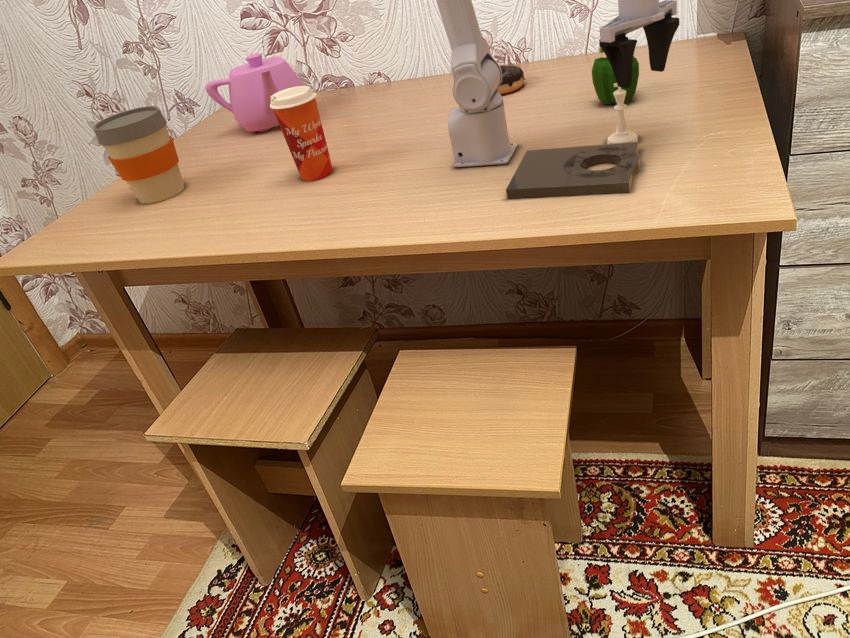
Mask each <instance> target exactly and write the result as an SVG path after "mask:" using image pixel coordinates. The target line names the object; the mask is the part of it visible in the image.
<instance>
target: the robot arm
mask: <svg viewBox="0 0 850 638" xmlns="http://www.w3.org/2000/svg"><path fill="white" fill-rule="evenodd" d="M435 2H436V4H437V9H438V11H439V14H440V18H441V21H442V25H443V27H444V30H445V31H444V32H445V33H446V37H447V40H448V44H449V47H450V50H451V53H450V54H451V56H450V70H451V74H452V77H453V83H452V96H453V99H454V101H455V102H456V104H457V105H458V106H457V107H454V108H453V107H452V108H451V109H450V110H449V112H448V116H447V128H448V135H449V140H450V144H451V150H452V154H453V159H454V164H453V166H454V167H453V168H466V167H481V166H483V167H484V166H494V165H495V166H497V165H506V164H508V163H509V162H510V160H511V158H512V156H513V155H514V153H515V151H516V149H517V148H518V143H516V142H515V143H512V142H511V141H510V135H509V129H508V123H507V117H506V110H505V102H504V97H503V96H502V94H500V93H499V91H498V87H499V86H500V84H501V81H502V70H501V67H500V66H501V65H500V63H499V62H498V61H497V60H496V59H495V58H494V56H493V55H492V52H491V49H490V46H489V44H488V43H487V42H486V40H485V39H484V38H483V36H482V32H481V29H480V25H479V21H478V19H477V14H476V11H475V8H474V4H473V1H472V0H435ZM617 6H618V8H617V9H618V10H617V11H618V15H617V16H616V17H614V18H613V19H611V20H610V21H609V22H608V23H606V24H605V25H602V26H600V27H599V40H598V42H599V48H601V49H602V50H603V53H604V55H605V57H607V58H608V60H609V62H610V64H611V67H612V69H613V72H614V75H615V78H616V82H617V85H618V87H624V88H629V87H631V84H632V63H633V56H635V50H636V46H637V43H638V40H637V39H634V38H633V39H631V38H629V36H627V34H630V33H632V32H635V31H637V30H639V29H641V28H642V29H643V31H644V35H645V38H646V39H645V40H646V43H647V49H648V50H647V51H648V60H649V68H650V71H651V72H660V73H661V72H665V69H666V65H667V60H668V57H669V52H670V48H671V44H672V41H673V39H674V36H675V34H676V33H677V30H678V28H679V26H680V18H679V17H675V15H678V1H677V0H662V1H660V0H617ZM673 16H674V17H673ZM510 142H511V143H510Z"/></svg>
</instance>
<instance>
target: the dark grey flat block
mask: <svg viewBox="0 0 850 638" xmlns="http://www.w3.org/2000/svg"><path fill="white" fill-rule="evenodd" d="M639 144H640V143H639V141H637V142H632V143H631V142H630V143H617V144H607V143H606V144H593V145H579V146H565V147H552V148H543V149H542V148H541V149H527V150H526V151H525V153H524V155H523V157H522V159H521V160H520V162H519V164H518V166H517V168H516V170H515V172H514V174H513V176H512V178H511V180H510V181H509V184H508V185H507V187H506V189H505V192H506V197H507V200H510V199H512V200H513V199H529V198H545V197H547V198H549V197H566V196H569V197H570V196H584V195H585V196H586V195H603V194H604V195H605V194H623V193H630V192H631V189H632V183H633V179H634V177H635V176H636V175H637V174H639V172H640V168H641V156H640V155H639V151H640V149H639V148H640V147H639V146H640V145H639ZM600 164H614V165H615V166H612V167H609V168H605V169H599V170H592V169H586V168H589V167H591V166H596V165H600Z"/></svg>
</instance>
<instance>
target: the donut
mask: <svg viewBox="0 0 850 638" xmlns="http://www.w3.org/2000/svg"><path fill="white" fill-rule="evenodd" d="M500 67H501V70H502V81H501V84H500V86H499V87H498V91H499V93H500V95H504V94H505V95H506V94H508V93H513V92H515V91H517V90H519V89H520V88H521V87H522V86H524V83H525V80H526V79H525V73H524V71H523V69H522V67H519V66H518V65H515V64H513V65H507V64H506V65H500Z"/></svg>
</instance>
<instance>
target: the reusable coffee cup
mask: <svg viewBox="0 0 850 638" xmlns="http://www.w3.org/2000/svg"><path fill="white" fill-rule="evenodd" d="M167 125H168V124H167V120H166V119H165V116H164V114H163V113H162V111H161V109H160V107H159V106H156V105H147V106H139V107H136V108H132V109H128V110H125V111H121V112H118V113H116V114H113V115H111V116H108V117H106V118H103V119H102V120H99V121H98V122H97V123H95V124H94V125H93V127H92V129H93V131H94V133H95V137H96V139H97V141H98V144H99V145H100V146H102V147H103V148H104V150H105V151H106V153H107V155H108V156H107V158H108V159H107V160H108V161H109V162H110V163H111V165H112V167H113V168H114V169H115V171H116V172H117V174H118V176H119V177H120V179H121V180H122V181H125V182H126V184H127V185H128V186H129V188H130V189H131V191H132V193H133V194H134V196H135V197H136V198H137V201H138V202H139V203H141V204H154V203H159V202H162V201H165V200H169V199H170V198H172V197H175V196H177V195H179V194H180V193H181V192H182V191H184V189H185V183H184V180H183V177H182V176H183V175H182V173H181V170H180V167H179V161H180V159H179V156H178V152H177V149H176V146H175V142H174V138H173V137H172V136H171V135H170V133H169V131H168V127H167Z"/></svg>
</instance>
